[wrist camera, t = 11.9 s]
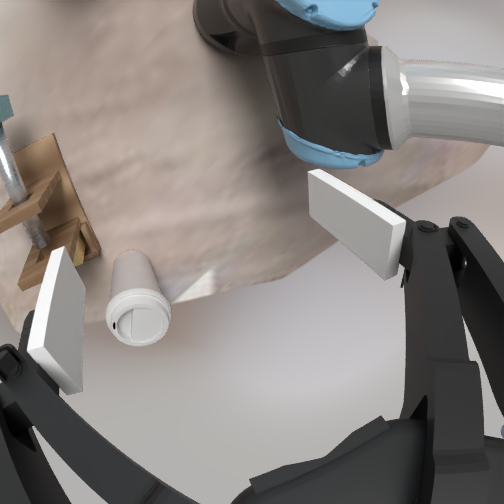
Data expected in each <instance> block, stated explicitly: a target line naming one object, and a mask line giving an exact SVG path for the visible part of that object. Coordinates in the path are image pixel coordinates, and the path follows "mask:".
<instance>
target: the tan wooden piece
mask: <svg viewBox="0 0 504 504" xmlns="http://www.w3.org/2000/svg"><path fill="white" fill-rule="evenodd" d="M85 246H86V239H85V237H84V235H83V233H82V231H81V227H80V231H79V236H78V240H77V245H76V250H75V255H74V261H73V264H74V266H75V267H76V266H78V265H81V264H83V259H84V252H85ZM49 257H50V255H48V256H46V257H44V259H47V258H49Z"/></svg>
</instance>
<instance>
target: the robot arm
mask: <svg viewBox="0 0 504 504" xmlns="http://www.w3.org/2000/svg"><path fill="white" fill-rule="evenodd" d="M378 4H379V0H194V4H193V16H194V21H195V24H196V26H197V28H198V30H199V32H200V33H201V35H202V36H203V37H204V38H205V40H207V41H208V42H209V43H210V44H211V45H213V46H214V47H216V48H217V49H219V50H221V51H223V52H226V53H229V54H234V55H254V54H260V53H262V58H263V61H264V65H265V68H266V72H267V76H268V80H269V83H270V87H271V91H272V95H273V99H274V102H275V106H276V110H277V114H278V115H277V120H278V123H279V125H280V127H281V128H282V131H283V134H284V137H285V141H286V144H287V146H288V148H289V150H290V151H291V152H293V153H294V154H295V155H296V156H297V157H298V158H299V159H301V160H303V161H305V162H307V163H310V164H313V165H316V166H321V167H326V168H334V169H352V168H357V167H358V165H361V166H368V165H371V164H373V163H375V162H377V161H378V160H379V159H380V158H381V157H382V154H383V152H384V150H385V149H388V150H397V149H398V148H399V147H400V146H401V145H402V144H403V143H404V142H405V141H406V140H407V139H409V138H411V137H422V138H435V139H447V140H457V141H466V142H474V143H482V144H489V145H496V146H503V147H504V69H503V68H497V67H492V66H485V65H478V64H469V63H460V62H449V61H435V60H408V59H403V58H401V57H399V56H398V55H397V54H396V53H394V52H393V51H392V50H391V49H389V48H388V47H387V46H369V45H368V41H367V36H366V31H365V27H364V25H365V24H366V23H367V22H369V21H370V20H371V19H372V17H374V15H375V10H374V9H375V8H376V7H378ZM308 191H309V215H310V217H312V218H313V219H314V220H315V221H316V222H318V223H319V224H320V225H321V226H322V227H324V228H325V229H326V230H327V231H328V232H330V233H331V234H332V235H333V236H334V237H335V238H337V239H338V240H339V241H340V242H341V243H343V244H344V245H345V246H346V247H347V248H348V249H350V250H351V251H352V252H353V253H354V254H355V255H356V256H358V257H359V258H360V259H361V260H362V261H363V262H364V263H365V264H367V265H368V266H369V267H370V268H371V269H372V270H373V271H374V272H376V273H377V274H378V275H379V276H380V277H381V278H382V279H383V280H387V279H389V278H391V277H393V276H395V275H397V272H398V267H399V263H400V264H401V265H402V266H403V267H404V268H405V269H404V274H403V278H402V283H401V288H403V285H404V292H405V315H406V316H405V317H406V368H405V391H404V403H403V408H402V411H401V414H400V418H399V419H394V420H389V421H385V420H384V419H383V417H382V416H379V417H378V418H376V419H375V420H373V421H371V422H369V423H368V424H366V425H364V426H363V427H361V428H359V429H357V430H356V431H354V432H352V433H351V434H350V435H349V436H348V437H347V438H346V439H345V440H344V441H342V442H341V443H340V444H339V445H338V446H337V447H336V448H335V449H333V450H332V451H331V452H330V453H329V454H328V455H326V456H325V457H323V458H319V459H315V460H310V461H306V462H301V463H296V464H291V465H285V466H282V467H280V468H277V469H275V470H272V471H270V472H268V473H265V474H262V475H259V476H257V477H254V478H251V479H249V480H250V482H251V486H250V487H248V488H247V489H245V490H244V491H243V492H241V493H240V494H239V495H238V496H237V497H236V498H235V499H234V500H233V501H232V503H231V504H504V439H501V438H495V437H490V436H485V435H484V416H483V400H482V390H481V389H482V388H481V378H480V370H479V366H478V363H477V362H476V361H470V360H469V357H468V349H467V342H466V335H465V329H464V323H463V318H464V321H465V323H466V325H467V327H468V330H469V332H470V334H471V336H472V339H473V341H474V344H475V346H476V348H477V351H478V353H479V356H480V359H481V361H482V364H483V366H484V369H485V372H486V375H487V377H488V380H489V383H490V386H491V389H492V392H493V394H494V397H495V400H496V402H497V405H498V407H499V409H500V411H501V413H502V415H503V417H504V262H503V261H502V259H501V258H500V257H499V255H498V254H497V253H496V251H495V250H494V249H493V247H492V246H491V245H490V243H489V242H488V241H487V240H486V238H485V237H484V236H483V234H482V233H481V232H480V231H479V230H478V228H477V227H476V226H475V225H474V224H473V223H472V222H471V221H470V220H468V219H467V218H463V217H452V218H451V219H450V223H449V227H446V228H439V227H438V226H437V225H436V224H434V223H432V222H429V221H425V220H421V221H420V220H419V221H416V222H414V221H412V220H411V219H409V218H408V217H406V216H405V215H403V214H402V213H400V212H398V211H396V210H395V209H394V208H392V207H390V206H389V205H387V204H386V203H384V202H382V201H379V200H376V199H371V198H369V197H368V196H366V195H364V194H363V193H361V192H359V191H358V190H356V189H354V188H353V187H351V186H349V185H347V184H346V183H344V182H342V181H340V180H339V179H337V178H335V177H333V176H332V175H330V174H328V173H326V172H324V171H323V170H321V169H316V170H312V171H308ZM465 261H466V262H467V266H466V265H465ZM85 295H86V288H85V286H84V284H83V282H82V280H81V278H80V276H79V274H78V272H77V270H76V268H75V266H74V264H73V262H72V260H71V258H70V256H69V254H68V252H67V250H66V248H65V246H63V247H61V248H58V249H56V250H53V251H52V252H51V255H50V259H49V262H48V265H47V268H46V272H45V275H44V278H43V282H42V285H41V289H40V293H39V297H38V301H37V305H36V309H35V310H33V311H30V312H29V314H28V316H27V317H26V319H25V321H24V325H23V329H22V330H23V331H22V333H21V338H20V343H19V348H18V351H17V350H16V349H15V347H14V346H13V345H11V344H4V345H2V346H0V380H1V381H2V383H1V384H0V504H71V502H70V501H69V499H68V497H67V496H66V494H65V492H64V490H63V489H62V487H61V485H60V484H59V482H58V480H57V478H56V476H55V475H54V473H53V471H52V469H51V467H50V465H49V463H48V461H47V459H46V457H45V455H44V453H43V451H42V449H41V447H40V444H39V442H38V440H37V438H36V436H35V433H34V431H33V429H32V426H35V427H36V429H37V430H38V431H39V432H40V434H41V435H42V436H43V437H44V439H45V440H46V441H47V442H48V443H49V444H50V445H51V447H52V448H53V449H54V450H55V451H56V452H57V454H58V455H59V456H60V457H61V458H62V459H63V460H64V461H65V462H66V463H67V465H68V466H69V467H70V468H71V469H72V470H73V471H74V472H75V473H76V474H77V475H78V476H79V477H80V478H81V479H82V480H83V481H84V482H85V483H86V484H87V485H88V486H89V487H90V488H91V489H93V490H94V491H95V492H96V493H97V494H98V495H99V496H100V497H101V498H103V499H104V500H105V501H106V502H107V503H108V504H199V503H198V502H196V501H194V500H192V499H190V498H189V497H187V496H185V495H183V494H182V493H180V492H179V491H177V490H175V489H174V488H172V487H171V486H169V485H168V484H166V483H164V482H163V481H161V480H160V479H158V478H157V477H155V476H154V475H152V474H151V473H149V472H148V471H147V470H145V469H144V468H142V467H141V466H140V465H138V464H137V463H136V462H134V461H133V460H132V459H130V458H129V457H127V456H126V455H125V454H124V453H122V452H121V451H120V450H119V449H117V448H116V447H115V446H114V445H112V444H111V443H110V442H109V441H107V440H106V439H105V438H104V437H102V435H100V434H99V433H98V432H97V431H96V430H95V429H93V428H92V427H91V426H90V425H89V424H88V423H87V422H86V421H84V419H82V418H81V417H80V416H79V415H78V414H77V413H76V412H75V411H74V410H73V409H72V408H71V407H70V406H69V405H68V404H67V403H66V402H65V401H64V400H63V399H62V398H61V397H60V396H59V387H60V388H61V389H62V391H63V392H64V393H65V394H66V395H70V394H75V393H79V392H82V391H83V385H82V384H83V379H82V353H83V324H84V308H85ZM462 316H463V318H462ZM501 435H502V436H503V438H504V425H503V426H502V428H501Z"/></svg>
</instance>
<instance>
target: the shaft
mask: <svg viewBox="0 0 504 504" xmlns="http://www.w3.org/2000/svg"><path fill="white" fill-rule="evenodd" d="M12 116H14V114H13V111H12V107H11V104H10V100H9V97H8V95H2V96H0V174H1V177H2V179H3V181H4V184H5V186H6V188H7V191H8V193H9V195H10V198H11V200H12V202H13V204H14V206H15V207H16V206H18V205H20V204H22V203H24V202H26V201H27V200H29V199H30V196H29V194H28V192H27V189H26V187H25V185H24V182H23V180H22V177H21V175H20V172H19V170H18V167H17V165H16V162H15V160H14V157H13V154H12V152H11V149H10V146H9V143H8V140H7V137H6V134H5V131H4V128H3V125H2V122H4V121H5V120H7V119H9V118H10V117H12ZM22 223H23V225H24V227H25V229H26V231H27V233H28V235H29V237H30V238H31V240H32V242H33V244H34V246H35V248H36V249H37V250H39V249H42V248H44V247H45V246H47V245H48V244H49V242H50V238H49V236H48V234H47V232H46V230H45V228H44V226H43V224H42V222H41V220H40V218H39V216H38V214H37V215H35V216H33V217H31V218H29V219H27V220H25V221H23V222H22Z"/></svg>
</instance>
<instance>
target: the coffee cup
mask: <svg viewBox="0 0 504 504" xmlns="http://www.w3.org/2000/svg"><path fill="white" fill-rule="evenodd" d="M171 317H172V309H171V306H170V304H169V302H168V300H167V299H166V298H165V297H164V296H163V295H162V292H161V290H160V287H159V285H158V282H157V280H156V277H155V274H154V272H153V269H152V266H151V264H150V261H149V259H148V257H147V256H146V255H145V254H144V253H142V252H140V251H137V250H127V251H124V252H122V253H121V254H119V255H118V256H117V258H116V259H115V262H114V266H113V275H112V283H111V293H110V302H109V304H108V306H107V308H106V312H105V319H106V322H107V325H108V327H109V329H110V330H111V332H112V333H113V334H114V335H115V336H116V338H118V340H120V341H121V342H123V343H125V344H127V345H131V346H146V345H150V344H153V343H155V342H157V341H158V340H160V339H161V338H162V337H163V336H164V335H165V333H166V332H167V330H168V327H169V325H170V322H171Z"/></svg>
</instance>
